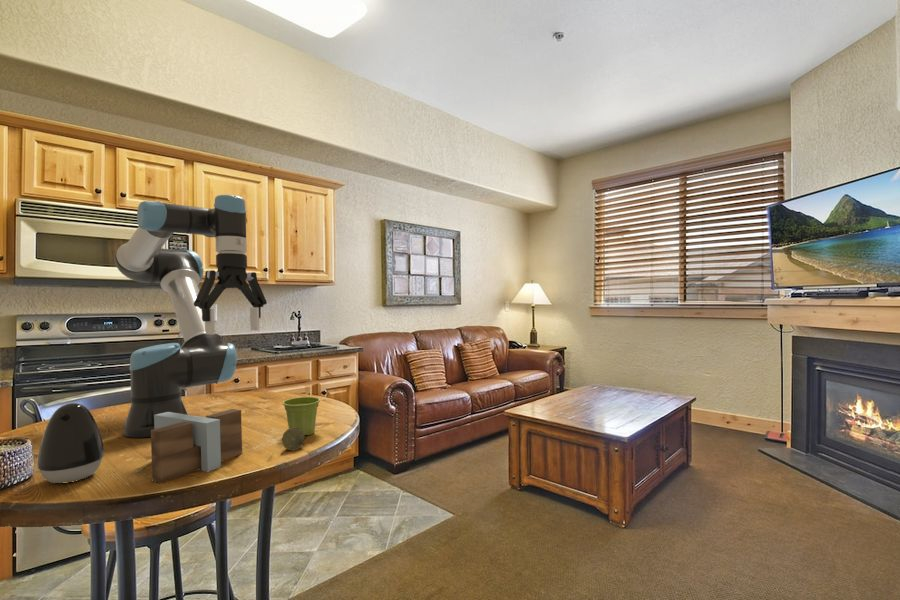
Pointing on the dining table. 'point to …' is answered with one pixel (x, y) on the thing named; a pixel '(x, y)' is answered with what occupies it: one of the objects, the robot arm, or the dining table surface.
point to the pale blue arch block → (198, 435)
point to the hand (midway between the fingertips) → (233, 332)
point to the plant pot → (302, 413)
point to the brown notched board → (191, 446)
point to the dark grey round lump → (293, 439)
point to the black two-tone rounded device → (70, 445)
